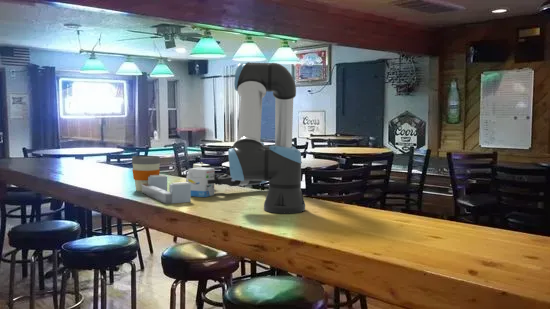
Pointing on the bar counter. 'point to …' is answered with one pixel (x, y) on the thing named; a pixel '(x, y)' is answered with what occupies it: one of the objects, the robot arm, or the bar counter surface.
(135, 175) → the reusable coffee cup
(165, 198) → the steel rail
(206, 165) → the pneumatic valve
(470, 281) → the bar counter surface
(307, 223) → the bar counter surface
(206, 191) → the ink box
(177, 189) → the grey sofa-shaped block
